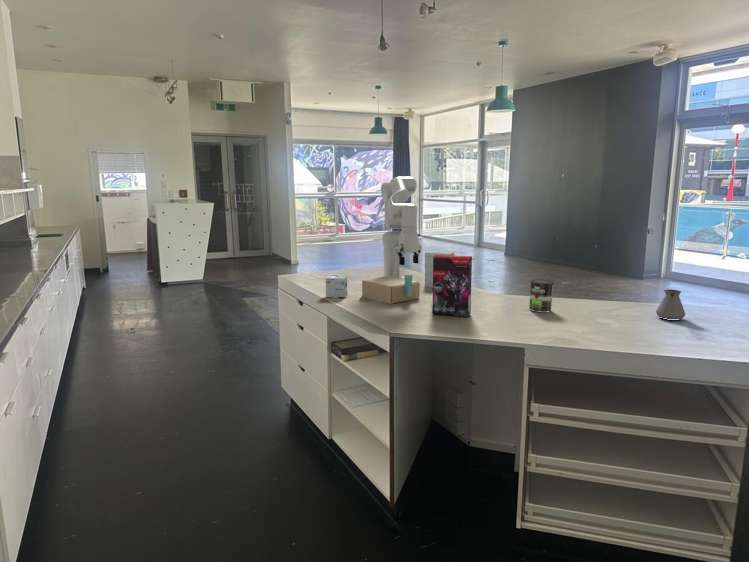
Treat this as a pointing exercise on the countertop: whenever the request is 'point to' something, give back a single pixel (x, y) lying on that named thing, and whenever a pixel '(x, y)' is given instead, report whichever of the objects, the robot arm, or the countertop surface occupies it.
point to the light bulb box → (336, 286)
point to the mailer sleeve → (382, 288)
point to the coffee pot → (671, 306)
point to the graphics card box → (452, 285)
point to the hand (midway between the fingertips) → (408, 264)
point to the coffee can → (541, 295)
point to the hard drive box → (431, 266)
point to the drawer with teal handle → (406, 290)
